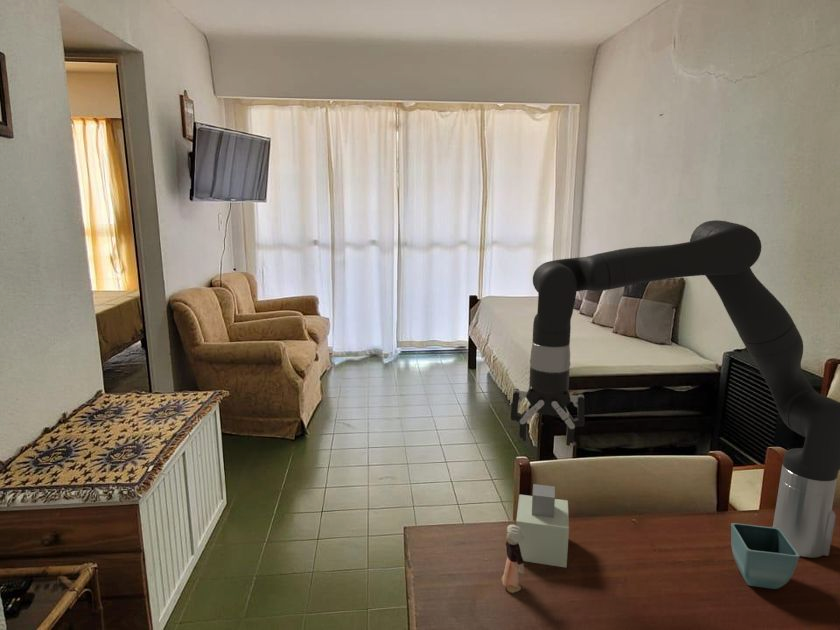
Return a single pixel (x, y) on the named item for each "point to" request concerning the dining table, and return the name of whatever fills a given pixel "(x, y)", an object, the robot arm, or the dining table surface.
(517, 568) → the grandmother figurine
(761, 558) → the flower pot
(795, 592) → the dining table surface
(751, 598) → the dining table surface
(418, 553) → the dining table surface
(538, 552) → the pale green cube
